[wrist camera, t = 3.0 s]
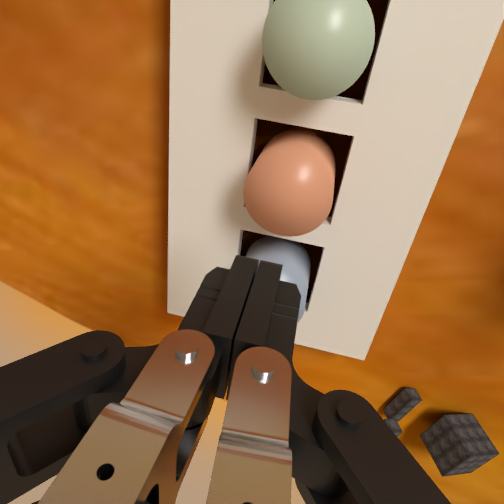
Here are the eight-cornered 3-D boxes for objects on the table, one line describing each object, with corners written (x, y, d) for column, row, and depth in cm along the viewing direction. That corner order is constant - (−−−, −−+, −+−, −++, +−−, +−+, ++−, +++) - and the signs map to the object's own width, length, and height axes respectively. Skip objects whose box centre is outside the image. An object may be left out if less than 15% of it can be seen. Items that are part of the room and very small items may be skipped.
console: (525, -94, 16) (556, -111, 14) (362, 330, 29) (364, 360, 27) (196, -133, 18) (172, -155, 15) (182, 287, 31) (167, 312, 28)
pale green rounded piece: (382, -14, 17) (390, -17, 14) (356, 90, 19) (357, 108, 16) (285, -27, 17) (270, -35, 14) (271, 75, 20) (255, 90, 16)
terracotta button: (344, 137, 21) (343, 163, 17) (325, 209, 23) (321, 244, 20) (264, 122, 21) (248, 145, 18) (254, 194, 23) (239, 226, 20)
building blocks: (470, 472, 31) (393, 483, 28) (431, 407, 35) (359, 410, 32) (499, 453, 29) (420, 462, 26) (454, 387, 33) (381, 387, 30)
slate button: (317, 243, 24) (312, 281, 21) (303, 296, 26) (297, 338, 23) (250, 228, 25) (234, 264, 21) (242, 282, 27) (227, 321, 24)
